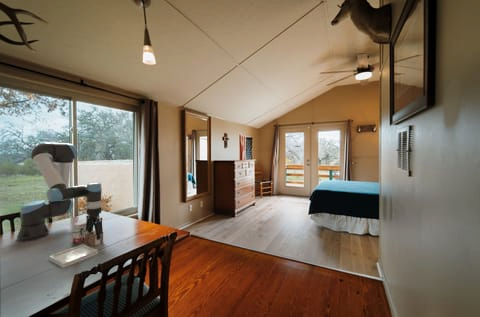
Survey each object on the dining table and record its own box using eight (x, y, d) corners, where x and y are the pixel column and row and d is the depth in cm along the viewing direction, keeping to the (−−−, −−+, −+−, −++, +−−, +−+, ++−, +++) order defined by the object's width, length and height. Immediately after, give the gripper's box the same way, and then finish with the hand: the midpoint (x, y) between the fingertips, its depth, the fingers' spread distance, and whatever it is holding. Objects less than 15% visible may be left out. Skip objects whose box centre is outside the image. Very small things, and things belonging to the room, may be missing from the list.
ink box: (78, 243, 126) (78, 224, 126) (72, 242, 127) (72, 224, 127) (91, 237, 135) (91, 220, 135) (85, 236, 136) (85, 219, 136)
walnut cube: (84, 244, 125) (84, 233, 125) (97, 240, 131) (97, 229, 131) (91, 247, 122) (91, 235, 121) (103, 242, 128) (103, 231, 128)
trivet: (48, 259, 107) (48, 256, 107) (83, 247, 121) (83, 244, 121) (63, 267, 99) (63, 264, 99) (98, 253, 114) (98, 250, 114)
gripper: (79, 206, 127) (79, 242, 127) (96, 211, 118) (96, 249, 118) (92, 204, 134) (92, 237, 134) (109, 208, 125) (109, 244, 125)
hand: (94, 243), depth 126 cm, fingers closed on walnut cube, 7 cm apart
